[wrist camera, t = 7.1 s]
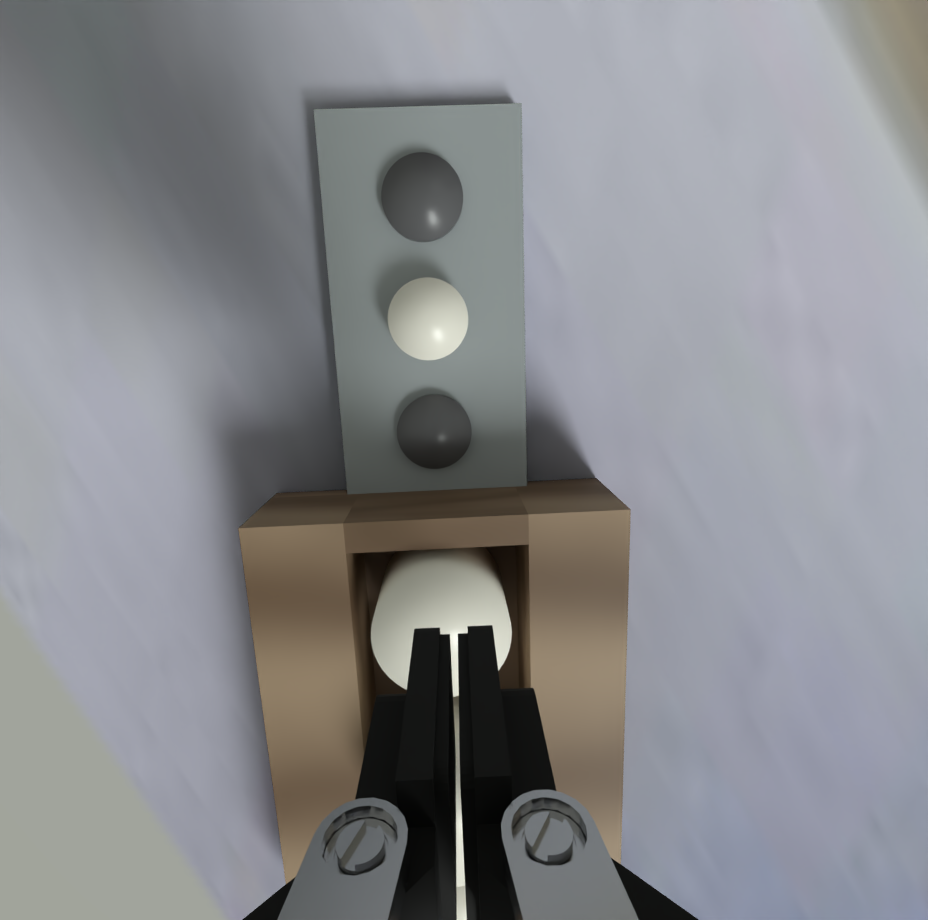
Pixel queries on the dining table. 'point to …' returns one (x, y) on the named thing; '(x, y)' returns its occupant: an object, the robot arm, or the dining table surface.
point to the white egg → (437, 605)
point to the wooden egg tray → (352, 610)
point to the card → (426, 293)
